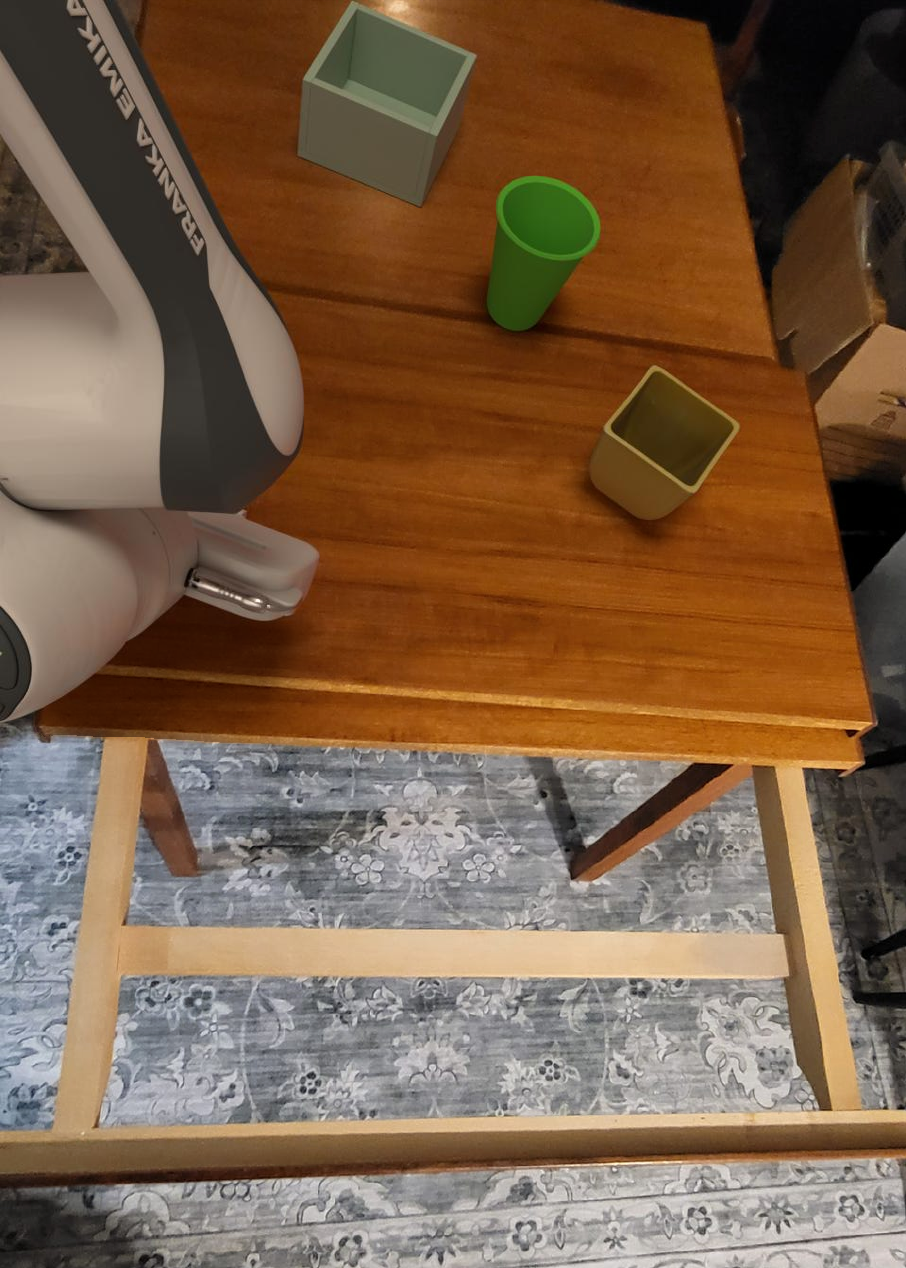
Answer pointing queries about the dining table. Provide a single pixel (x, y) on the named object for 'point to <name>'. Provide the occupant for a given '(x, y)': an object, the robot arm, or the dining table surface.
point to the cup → (537, 247)
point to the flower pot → (659, 446)
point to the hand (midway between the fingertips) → (192, 501)
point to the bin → (383, 103)
